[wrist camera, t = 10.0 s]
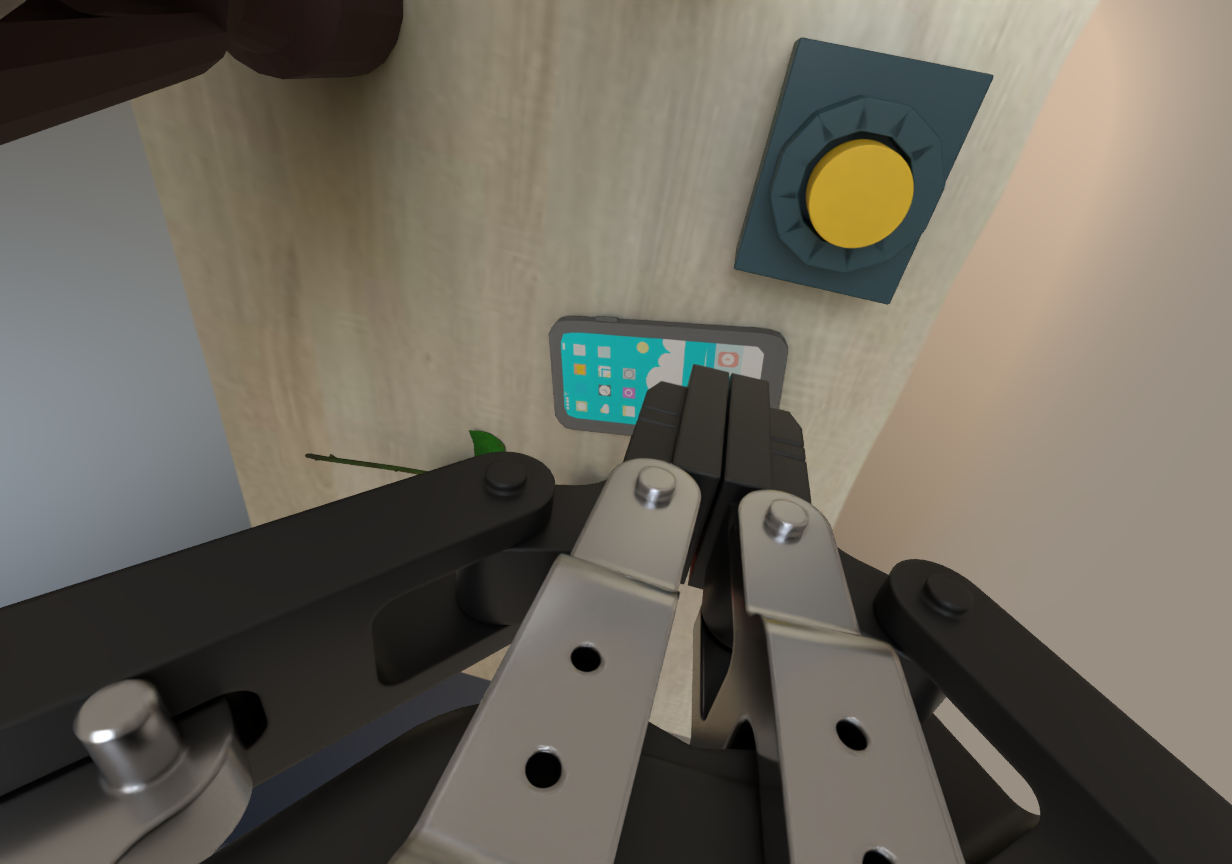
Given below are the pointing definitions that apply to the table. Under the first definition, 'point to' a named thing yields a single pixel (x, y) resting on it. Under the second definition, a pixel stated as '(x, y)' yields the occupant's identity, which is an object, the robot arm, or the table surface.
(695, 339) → the smartphone
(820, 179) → the button
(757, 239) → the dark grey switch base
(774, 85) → the table surface
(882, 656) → the robot arm
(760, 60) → the table surface
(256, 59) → the lantern
